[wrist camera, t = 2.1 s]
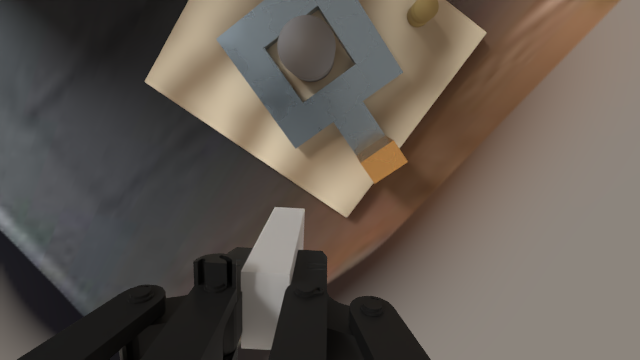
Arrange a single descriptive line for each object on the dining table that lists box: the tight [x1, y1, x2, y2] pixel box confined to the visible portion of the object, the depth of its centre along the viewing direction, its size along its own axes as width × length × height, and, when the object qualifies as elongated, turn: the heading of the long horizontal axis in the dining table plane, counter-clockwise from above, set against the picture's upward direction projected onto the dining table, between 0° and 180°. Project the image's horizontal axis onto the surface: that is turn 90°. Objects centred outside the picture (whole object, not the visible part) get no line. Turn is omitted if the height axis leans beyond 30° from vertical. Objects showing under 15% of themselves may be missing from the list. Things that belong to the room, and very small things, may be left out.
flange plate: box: [216, 0, 408, 184], centre depth 27 cm, size 16×11×5 cm, turn 35°
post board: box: [145, 0, 487, 218], centre depth 26 cm, size 22×20×7 cm
